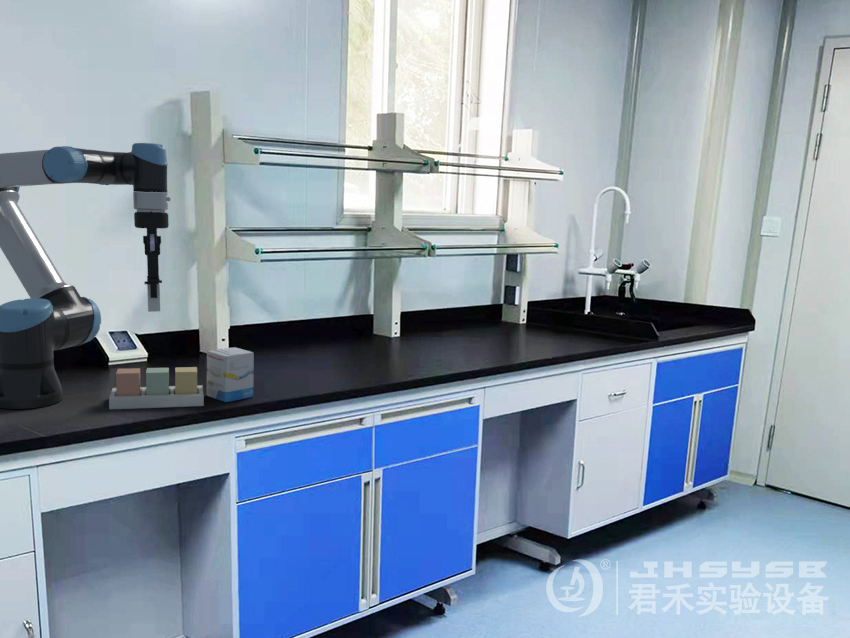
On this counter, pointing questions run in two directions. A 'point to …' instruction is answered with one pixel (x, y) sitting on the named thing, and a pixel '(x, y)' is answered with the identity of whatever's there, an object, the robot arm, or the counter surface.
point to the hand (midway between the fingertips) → (154, 310)
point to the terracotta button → (128, 382)
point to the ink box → (230, 374)
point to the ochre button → (186, 380)
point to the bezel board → (156, 399)
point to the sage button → (157, 381)
